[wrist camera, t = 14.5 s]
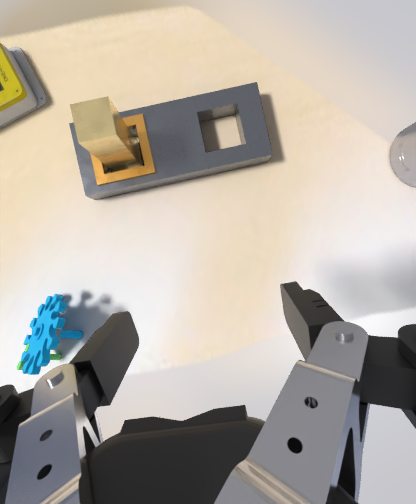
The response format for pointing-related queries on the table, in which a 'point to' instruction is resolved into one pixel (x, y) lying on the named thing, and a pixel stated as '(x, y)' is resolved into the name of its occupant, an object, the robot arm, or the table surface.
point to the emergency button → (17, 86)
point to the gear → (45, 336)
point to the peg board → (181, 142)
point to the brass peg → (106, 134)
